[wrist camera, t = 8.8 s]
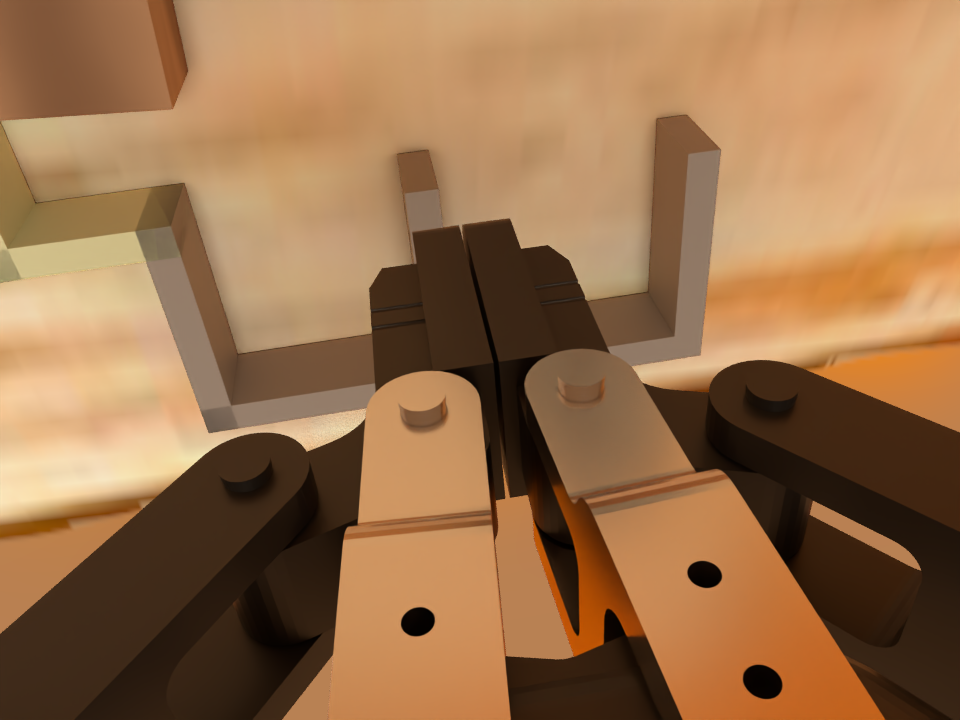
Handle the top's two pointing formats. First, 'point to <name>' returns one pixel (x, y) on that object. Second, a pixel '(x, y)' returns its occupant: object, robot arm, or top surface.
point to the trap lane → (349, 362)
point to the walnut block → (88, 57)
